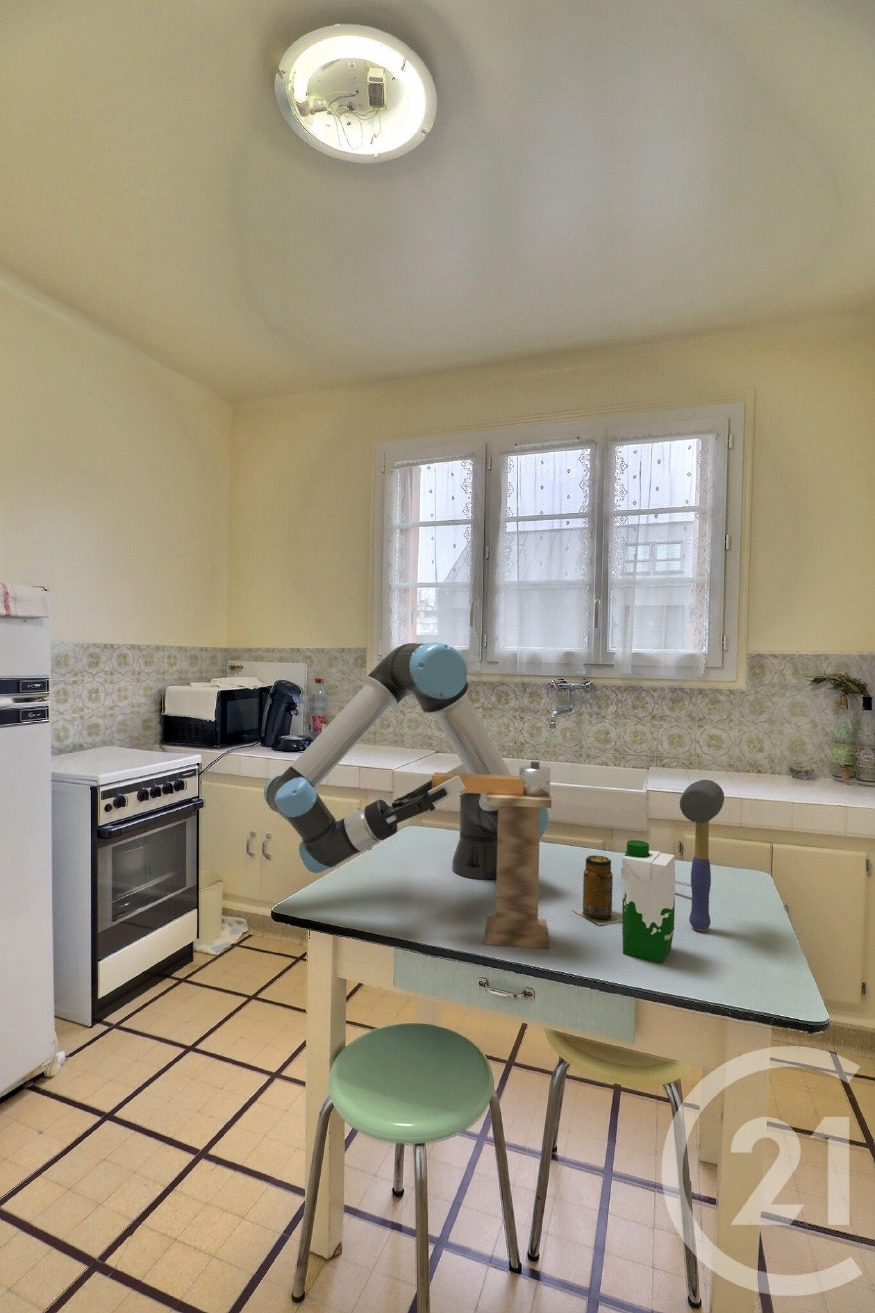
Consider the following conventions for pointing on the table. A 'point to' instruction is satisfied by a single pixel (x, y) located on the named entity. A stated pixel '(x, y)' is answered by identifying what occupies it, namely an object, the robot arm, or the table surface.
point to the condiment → (598, 891)
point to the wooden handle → (503, 782)
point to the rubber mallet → (701, 844)
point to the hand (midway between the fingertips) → (464, 775)
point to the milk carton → (648, 902)
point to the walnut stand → (517, 873)
